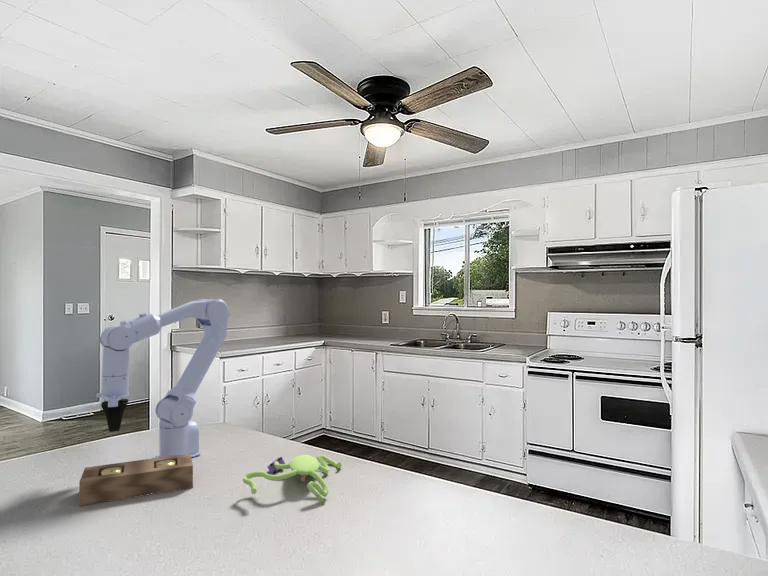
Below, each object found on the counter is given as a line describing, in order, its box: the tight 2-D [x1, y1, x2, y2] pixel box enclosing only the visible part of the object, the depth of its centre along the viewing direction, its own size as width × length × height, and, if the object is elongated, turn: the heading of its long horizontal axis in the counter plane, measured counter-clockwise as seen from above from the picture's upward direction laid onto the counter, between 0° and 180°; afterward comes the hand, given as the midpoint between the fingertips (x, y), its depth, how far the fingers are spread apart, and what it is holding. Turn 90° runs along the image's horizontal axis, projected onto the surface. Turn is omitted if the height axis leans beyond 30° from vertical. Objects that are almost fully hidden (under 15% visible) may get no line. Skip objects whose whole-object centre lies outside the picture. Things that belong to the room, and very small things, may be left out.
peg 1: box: [101, 467, 122, 476], centre depth 108 cm, size 4×4×5 cm
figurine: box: [242, 454, 343, 504], centre depth 114 cm, size 18×27×6 cm
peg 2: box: [156, 460, 175, 468], centre depth 113 cm, size 4×4×5 cm
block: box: [78, 453, 194, 507], centre depth 110 cm, size 22×9×5 cm, turn 115°
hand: (114, 430), depth 120 cm, fingers closed
